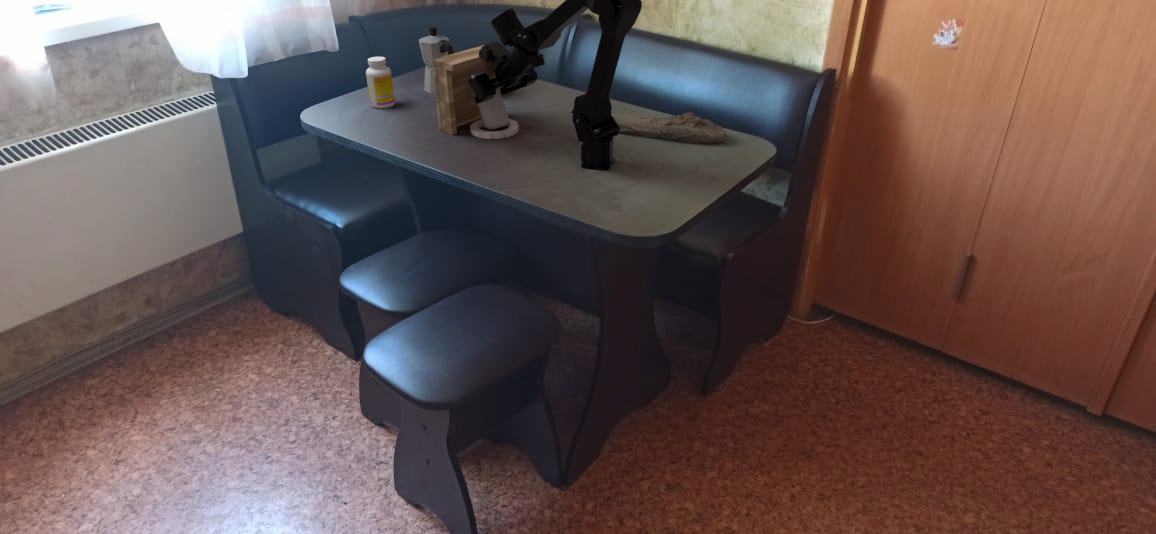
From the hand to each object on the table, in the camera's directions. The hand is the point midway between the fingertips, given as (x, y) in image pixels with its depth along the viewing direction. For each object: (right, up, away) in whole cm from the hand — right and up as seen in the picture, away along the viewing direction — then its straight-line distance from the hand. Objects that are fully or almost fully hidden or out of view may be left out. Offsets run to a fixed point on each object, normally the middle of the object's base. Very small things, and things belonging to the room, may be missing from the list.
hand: (488, 97), depth 194 cm
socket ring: (+1, -7, +3) cm, 8 cm away
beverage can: (+2, -7, +2) cm, 8 cm away
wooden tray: (-4, -5, +7) cm, 10 cm away
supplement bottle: (-31, +2, +21) cm, 38 cm away
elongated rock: (+42, -9, +1) cm, 43 cm away
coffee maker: (-17, +9, +32) cm, 37 cm away
